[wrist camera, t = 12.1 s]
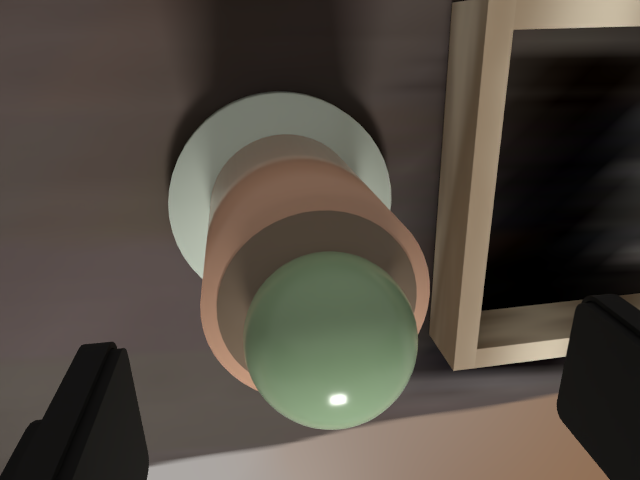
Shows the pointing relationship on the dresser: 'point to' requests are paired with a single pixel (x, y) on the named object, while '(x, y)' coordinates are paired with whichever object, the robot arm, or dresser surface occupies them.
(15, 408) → the dresser surface
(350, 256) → the terracotta pot
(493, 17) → the wooden frame
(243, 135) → the pale mint disc
